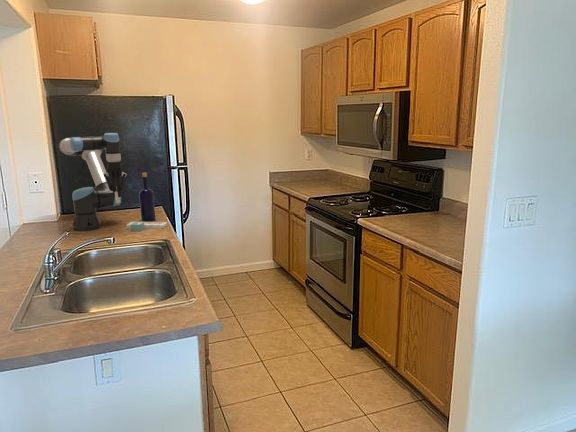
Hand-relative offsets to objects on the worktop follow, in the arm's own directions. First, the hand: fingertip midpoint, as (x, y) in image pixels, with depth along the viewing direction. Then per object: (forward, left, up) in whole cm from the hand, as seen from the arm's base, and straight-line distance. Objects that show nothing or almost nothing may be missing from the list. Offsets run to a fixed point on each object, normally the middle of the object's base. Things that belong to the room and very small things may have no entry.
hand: (118, 202), depth 245 cm
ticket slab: (+13, +7, -16) cm, 22 cm away
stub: (+10, 0, -16) cm, 19 cm away
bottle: (+8, +22, -16) cm, 28 cm away
